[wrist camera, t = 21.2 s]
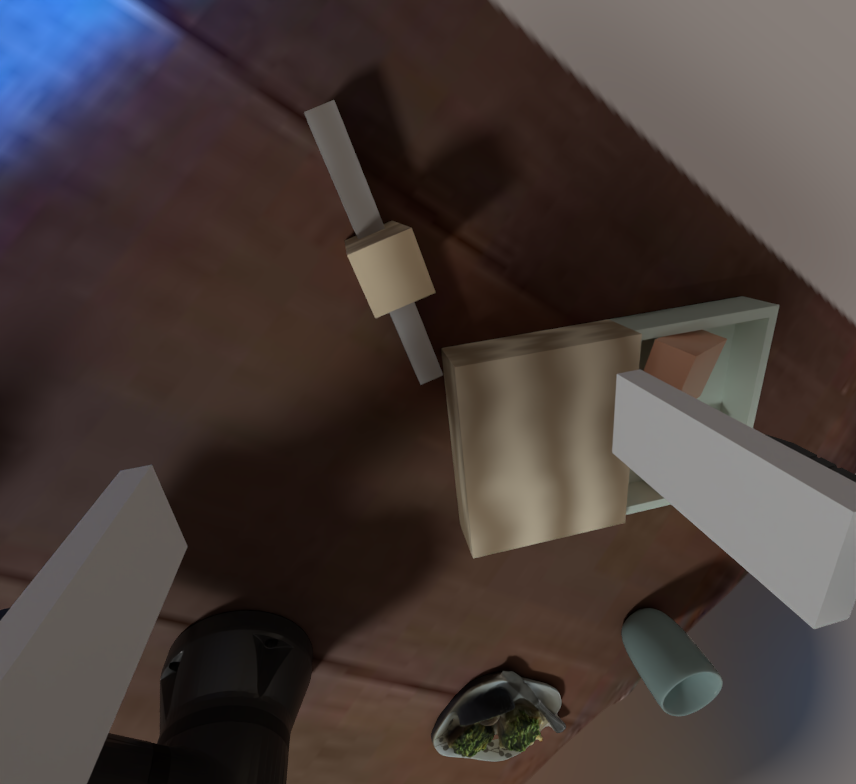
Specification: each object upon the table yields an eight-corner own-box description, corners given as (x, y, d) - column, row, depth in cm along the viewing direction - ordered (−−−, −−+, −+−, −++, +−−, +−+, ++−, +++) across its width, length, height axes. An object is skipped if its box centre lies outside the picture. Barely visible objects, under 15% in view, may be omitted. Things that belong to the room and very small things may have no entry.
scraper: (402, 372, 39) (422, 423, 30) (294, 127, 31) (277, 98, 22) (443, 354, 40) (475, 400, 31) (347, 105, 31) (352, 67, 22)
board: (460, 524, 47) (473, 558, 43) (441, 348, 39) (454, 367, 35) (598, 493, 49) (624, 522, 45) (608, 319, 41) (642, 333, 37)
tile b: (633, 397, 41) (669, 416, 39) (655, 339, 38) (696, 356, 36) (665, 379, 44) (700, 395, 42) (687, 324, 41) (727, 338, 39)
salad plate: (591, 680, 64) (609, 713, 60) (521, 756, 68) (533, 792, 64) (485, 652, 57) (496, 687, 53) (415, 739, 62) (421, 778, 57)
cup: (644, 590, 58) (702, 662, 49) (675, 612, 61) (734, 683, 52) (601, 628, 59) (649, 705, 50) (633, 647, 62) (684, 723, 53)
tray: (598, 493, 49) (619, 516, 46) (608, 319, 41) (634, 330, 38) (711, 468, 51) (739, 488, 48) (742, 296, 43) (779, 304, 39)
